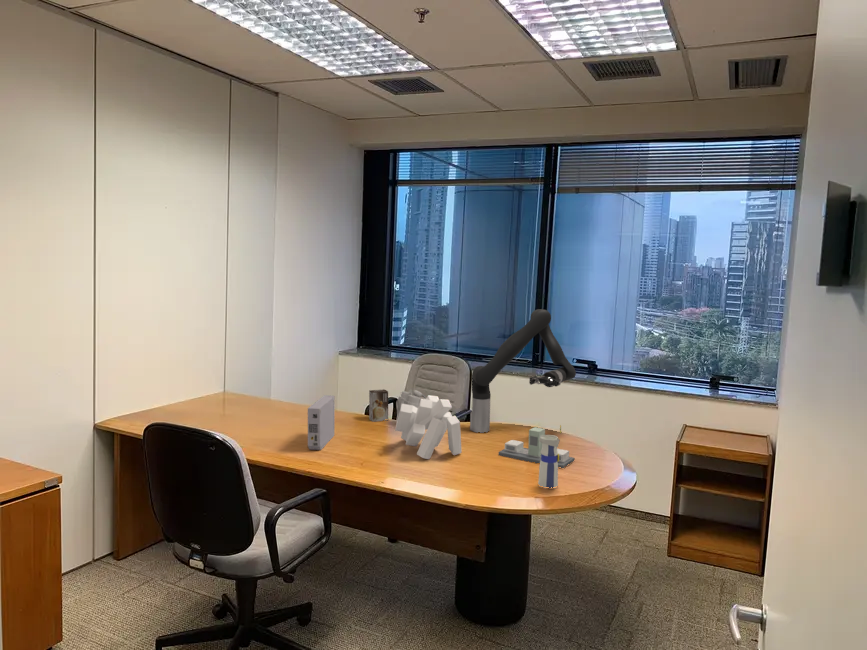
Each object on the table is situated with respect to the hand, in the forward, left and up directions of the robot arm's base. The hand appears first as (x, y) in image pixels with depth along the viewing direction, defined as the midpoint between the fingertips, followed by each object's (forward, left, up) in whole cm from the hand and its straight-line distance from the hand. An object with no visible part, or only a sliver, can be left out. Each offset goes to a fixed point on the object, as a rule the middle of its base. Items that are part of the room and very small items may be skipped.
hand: (538, 383), depth 298 cm
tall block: (+8, -18, -28) cm, 34 cm away
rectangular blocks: (+8, -18, -28) cm, 34 cm away
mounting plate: (+8, -18, -29) cm, 35 cm away
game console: (-84, -58, -30) cm, 107 cm away
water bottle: (+26, -46, -30) cm, 61 cm away
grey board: (+8, -18, -30) cm, 36 cm away
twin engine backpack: (-66, -6, -30) cm, 73 cm away
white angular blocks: (-37, -39, -30) cm, 62 cm away
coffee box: (-89, -9, -30) cm, 94 cm away
